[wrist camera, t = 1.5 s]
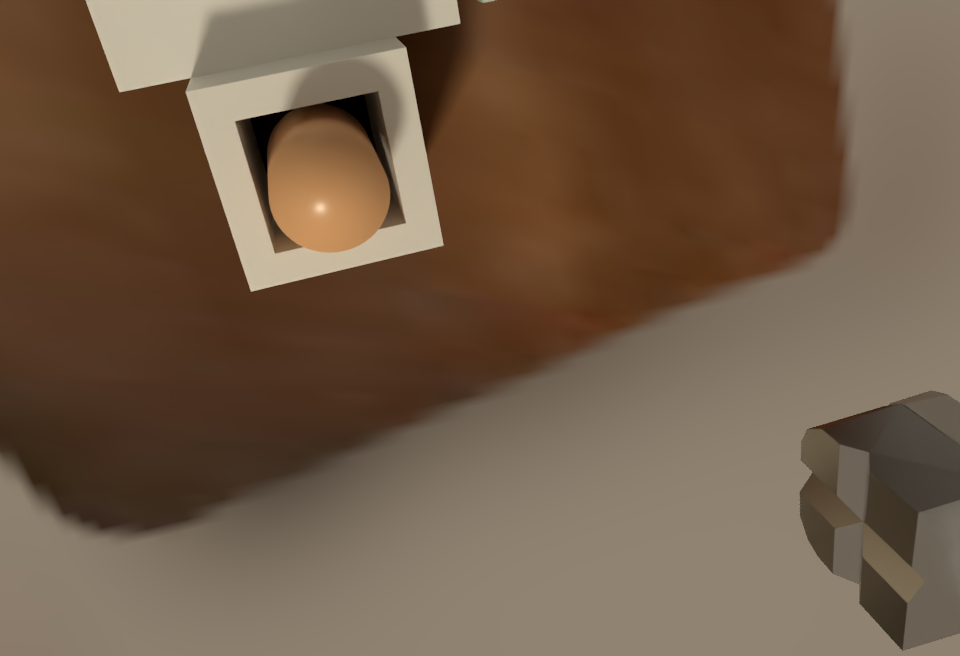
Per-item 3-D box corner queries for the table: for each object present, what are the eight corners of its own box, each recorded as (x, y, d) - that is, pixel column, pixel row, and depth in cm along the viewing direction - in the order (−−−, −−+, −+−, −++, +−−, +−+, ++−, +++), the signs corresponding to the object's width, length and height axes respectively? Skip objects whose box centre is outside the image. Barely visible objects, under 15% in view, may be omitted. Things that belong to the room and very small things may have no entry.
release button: (253, 115, 24) (253, 151, 21) (359, 93, 24) (376, 125, 21) (282, 215, 26) (287, 264, 22) (381, 193, 26) (400, 237, 23)
